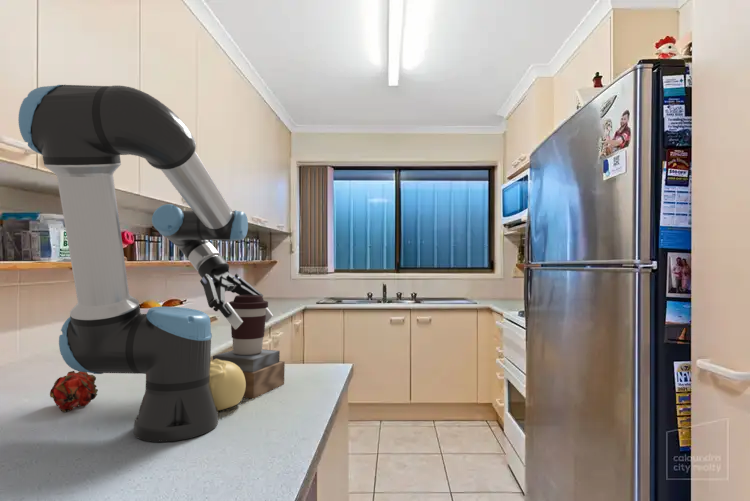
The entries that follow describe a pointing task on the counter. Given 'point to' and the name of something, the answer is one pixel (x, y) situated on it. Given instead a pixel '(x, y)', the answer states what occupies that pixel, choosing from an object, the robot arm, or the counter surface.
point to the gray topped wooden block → (258, 370)
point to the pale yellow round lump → (226, 383)
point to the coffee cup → (249, 324)
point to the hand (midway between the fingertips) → (255, 322)
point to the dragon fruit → (74, 390)
